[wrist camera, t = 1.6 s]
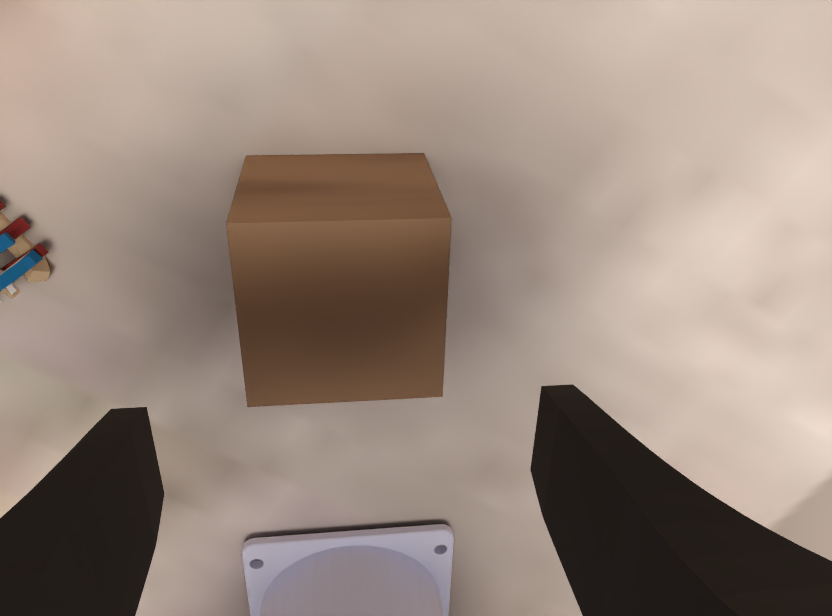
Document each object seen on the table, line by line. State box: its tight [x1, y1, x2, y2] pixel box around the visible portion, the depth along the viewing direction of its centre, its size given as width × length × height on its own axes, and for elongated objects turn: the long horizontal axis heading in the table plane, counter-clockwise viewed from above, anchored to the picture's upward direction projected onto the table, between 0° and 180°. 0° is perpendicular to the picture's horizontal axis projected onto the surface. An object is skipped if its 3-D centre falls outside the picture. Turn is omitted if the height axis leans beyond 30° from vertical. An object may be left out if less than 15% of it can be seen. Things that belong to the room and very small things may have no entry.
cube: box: [226, 153, 451, 407], centre depth 19 cm, size 5×5×5 cm
